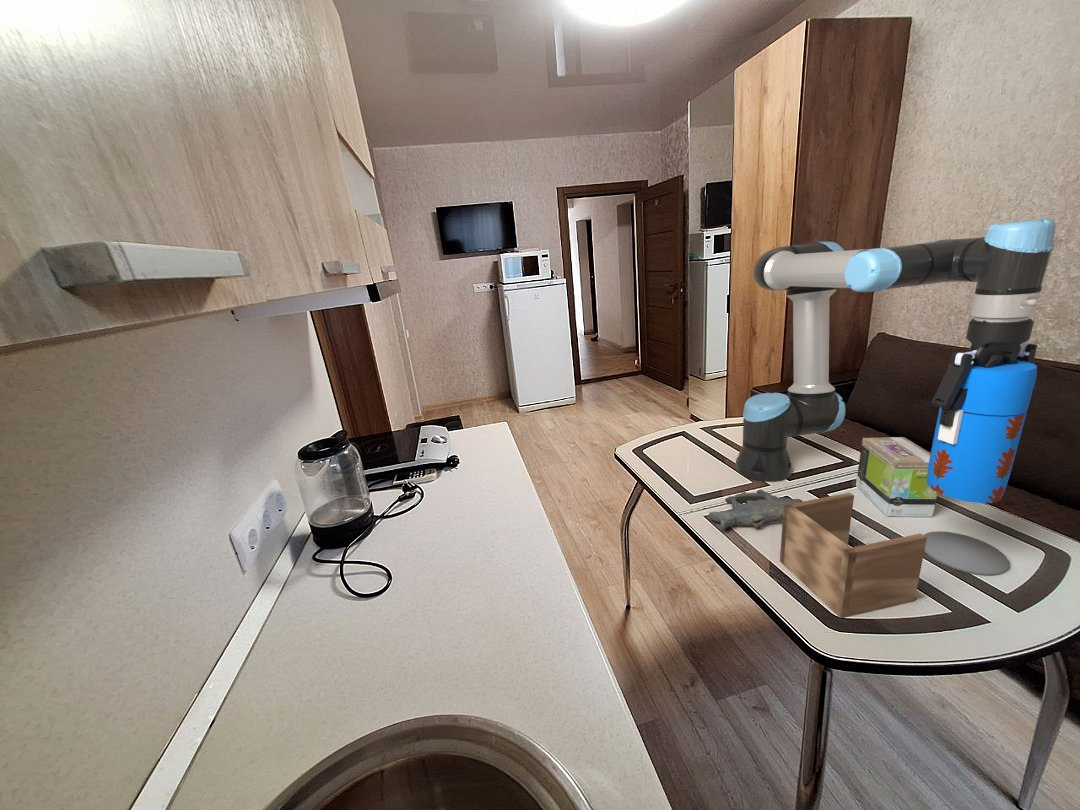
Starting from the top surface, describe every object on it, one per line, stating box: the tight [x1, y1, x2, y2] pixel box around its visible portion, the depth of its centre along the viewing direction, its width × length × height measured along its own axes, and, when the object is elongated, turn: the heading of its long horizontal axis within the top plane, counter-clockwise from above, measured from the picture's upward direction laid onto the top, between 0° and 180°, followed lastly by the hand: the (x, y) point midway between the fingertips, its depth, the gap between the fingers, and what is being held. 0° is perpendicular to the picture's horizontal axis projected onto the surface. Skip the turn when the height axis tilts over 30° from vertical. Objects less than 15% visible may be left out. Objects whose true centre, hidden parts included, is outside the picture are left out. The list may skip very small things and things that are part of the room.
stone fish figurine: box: [708, 489, 803, 530], centre depth 107 cm, size 5×25×15 cm
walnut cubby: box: [779, 492, 927, 619], centre depth 81 cm, size 16×15×14 cm
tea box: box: [855, 436, 939, 518], centre depth 104 cm, size 15×10×15 cm, turn 169°
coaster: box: [923, 531, 1010, 577], centre depth 86 cm, size 13×13×1 cm
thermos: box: [927, 360, 1038, 504], centre depth 77 cm, size 11×11×25 cm
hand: (974, 436), depth 78 cm, fingers closed on thermos, 11 cm apart
